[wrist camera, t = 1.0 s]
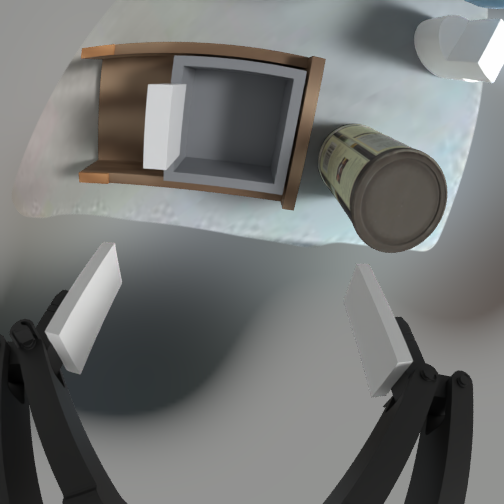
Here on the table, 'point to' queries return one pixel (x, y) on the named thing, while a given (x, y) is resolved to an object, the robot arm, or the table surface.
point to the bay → (159, 72)
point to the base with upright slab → (461, 47)
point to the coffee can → (383, 187)
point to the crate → (223, 123)
